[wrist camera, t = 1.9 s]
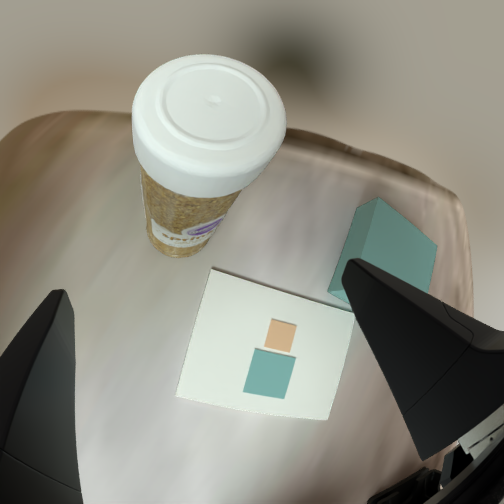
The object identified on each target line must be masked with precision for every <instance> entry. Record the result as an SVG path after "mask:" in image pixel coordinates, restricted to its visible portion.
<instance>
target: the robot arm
mask: <svg viewBox="0 0 504 504" xmlns="http://www.w3.org/2000/svg"><path fill="white" fill-rule="evenodd" d="M341 282H342V286H343V288H344V290H345V293H346V295H347V298H348V300H349V303H350V305H351V308H352V310H353V313H354V315H355V317H356V320H357V322H358V324H359V326H360V328H361V330H362V332H363V334H364V336H365V338H366V340H367V342H368V344H369V346H370V348H371V350H372V352H373V354H374V356H375V358H376V360H377V362H378V364H379V366H380V368H381V370H382V372H383V374H384V376H385V378H386V381H387V383H388V385H389V387H390V389H391V391H392V393H393V396H394V398H395V400H396V402H397V404H398V407H399V409H400V411H401V413H402V415H403V418H404V420H405V423H406V425H407V427H408V430H409V432H410V434H411V437H412V439H413V441H414V444H415V446H416V449H417V451H418V454H419V456H420V458H421V460H422V461H424V460H426V459H428V458H429V457H431V456H433V455H434V454H436V453H438V452H439V451H441V450H442V449H444V448H446V447H447V446H449V445H450V444H452V443H453V442H455V441H456V440H458V442H459V444H458V445H457V446H456V447H455V448H454V449H452V450H451V451H450V452H449V453H448V454H446V455H445V457H444V463H443V468H442V473H441V478H440V483H441V485H442V487H443V489H441V490H440V491H439V492H438V493H437V494H435V495H434V496H433V497H431V498H430V499H429V500H428V501H426V502H425V503H424V504H504V331H499V330H496V329H494V328H492V327H490V326H488V325H486V324H484V323H482V322H480V321H478V320H476V319H474V318H472V317H470V316H468V315H466V314H464V313H462V312H460V311H458V310H456V309H455V308H453V307H451V306H449V305H447V304H446V303H444V302H441V301H440V300H438V299H436V298H435V297H433V296H431V295H429V294H427V293H426V292H424V291H422V290H420V289H418V288H416V287H414V286H413V285H411V284H409V283H407V282H405V281H403V280H401V279H399V278H398V277H396V276H394V275H392V274H390V273H388V272H386V271H384V270H382V269H380V268H379V267H377V266H375V265H373V264H371V263H369V262H367V261H365V260H363V259H361V258H352V259H349V260H348V261H347V263H346V266H345V269H344V271H343V274H342V277H341ZM75 365H76V361H75V330H74V311H73V308H72V305H71V302H70V300H69V297H68V294H67V292H66V291H65V290H64V289H58V290H52V291H51V292H50V293H49V294H48V296H47V297H46V298H45V299H44V300H43V302H42V303H41V304H40V305H39V306H38V308H37V309H36V310H35V311H34V313H33V314H32V315H31V316H30V318H29V319H28V320H27V321H26V323H25V324H24V325H23V327H22V328H21V329H20V330H19V332H18V333H17V334H16V336H15V337H14V338H13V340H12V341H11V343H10V344H9V345H8V347H7V348H6V350H5V351H4V352H3V354H2V355H1V357H0V504H83V498H82V493H81V486H80V478H79V470H78V460H77V449H76V433H75Z"/></svg>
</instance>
